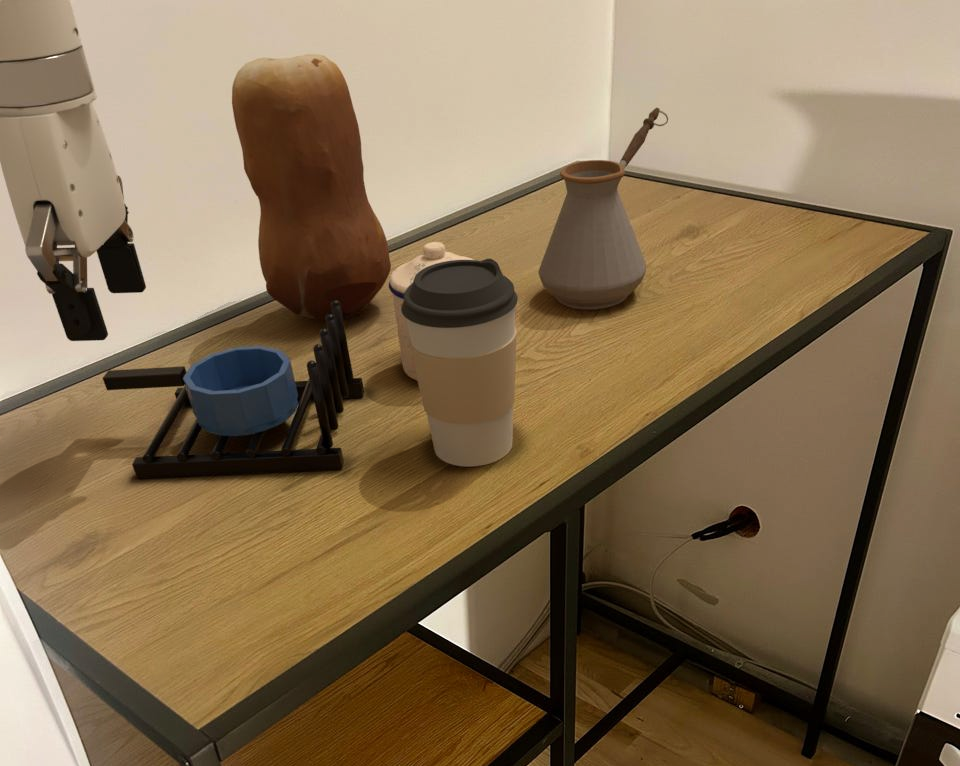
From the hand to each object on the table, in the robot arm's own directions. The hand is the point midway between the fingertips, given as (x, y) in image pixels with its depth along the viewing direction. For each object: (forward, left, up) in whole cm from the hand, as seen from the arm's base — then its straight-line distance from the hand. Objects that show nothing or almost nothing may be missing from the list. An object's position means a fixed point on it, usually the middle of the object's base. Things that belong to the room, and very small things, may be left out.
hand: (109, 314), depth 79 cm
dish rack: (+10, 0, -12) cm, 15 cm away
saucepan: (+6, 0, -9) cm, 11 cm away
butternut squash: (+13, +26, -12) cm, 31 cm away
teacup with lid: (+28, +12, -12) cm, 33 cm away
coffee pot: (+44, +31, -12) cm, 55 cm away
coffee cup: (+30, -4, -12) cm, 32 cm away
